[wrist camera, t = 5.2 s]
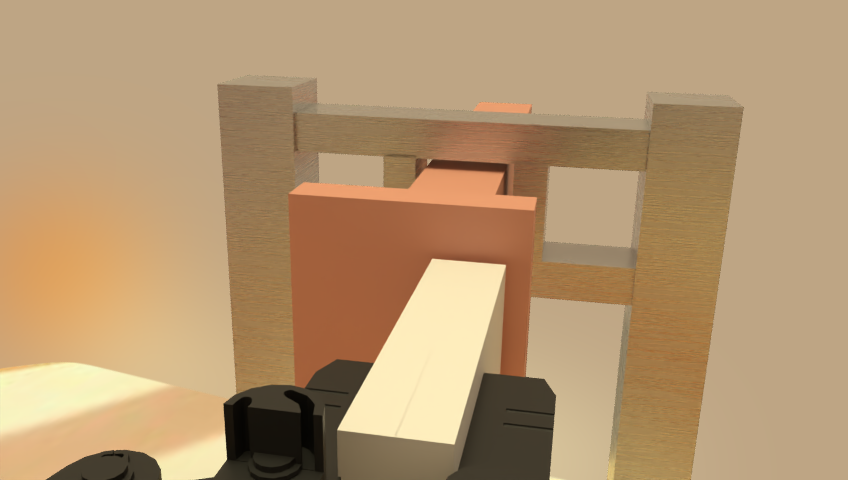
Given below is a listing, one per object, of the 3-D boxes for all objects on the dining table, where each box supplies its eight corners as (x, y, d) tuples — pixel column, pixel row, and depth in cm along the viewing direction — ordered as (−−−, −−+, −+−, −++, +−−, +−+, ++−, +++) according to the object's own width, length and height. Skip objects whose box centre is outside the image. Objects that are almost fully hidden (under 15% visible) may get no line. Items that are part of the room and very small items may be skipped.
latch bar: (520, 436, 17) (534, 211, 16) (296, 409, 18) (288, 193, 16) (554, 183, 38) (562, 77, 37) (450, 177, 39) (453, 72, 37)
